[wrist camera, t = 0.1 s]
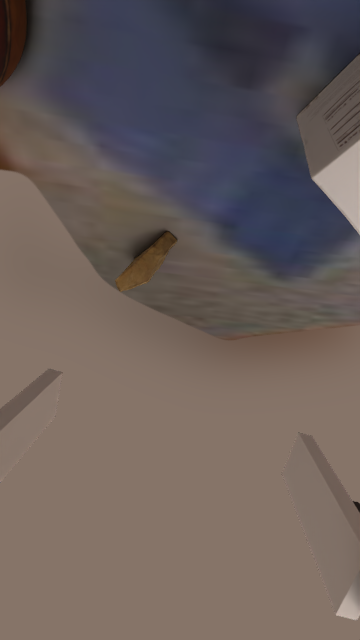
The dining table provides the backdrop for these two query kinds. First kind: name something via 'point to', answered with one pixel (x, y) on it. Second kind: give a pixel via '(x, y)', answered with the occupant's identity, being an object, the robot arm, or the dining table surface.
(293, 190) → the dining table surface
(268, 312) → the dining table surface
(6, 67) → the ceramic pitcher
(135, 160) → the dining table surface
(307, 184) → the dining table surface
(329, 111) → the supplement box
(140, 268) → the rock
